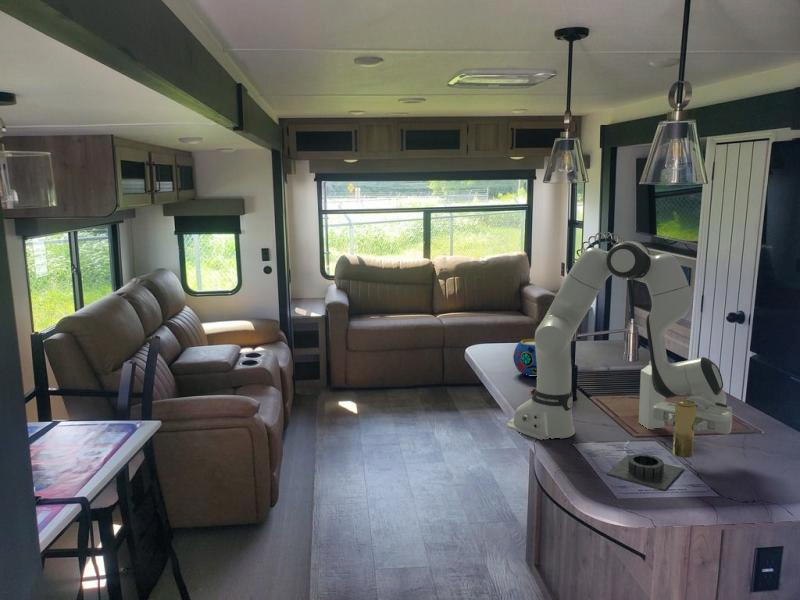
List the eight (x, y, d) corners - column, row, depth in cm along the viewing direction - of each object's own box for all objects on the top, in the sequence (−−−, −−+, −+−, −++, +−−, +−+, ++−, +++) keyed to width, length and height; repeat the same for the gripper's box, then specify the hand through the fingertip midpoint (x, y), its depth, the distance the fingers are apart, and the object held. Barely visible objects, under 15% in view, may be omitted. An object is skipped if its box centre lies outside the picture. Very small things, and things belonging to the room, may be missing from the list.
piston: (669, 454, 173) (673, 402, 171) (675, 448, 177) (679, 398, 174) (689, 459, 170) (692, 406, 167) (694, 453, 174) (698, 401, 171)
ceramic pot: (517, 382, 268) (517, 347, 266) (509, 370, 286) (510, 337, 283) (559, 381, 268) (559, 346, 266) (549, 369, 286) (549, 336, 283)
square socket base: (606, 474, 180) (606, 462, 180) (627, 456, 192) (628, 445, 192) (664, 490, 170) (665, 478, 169) (683, 470, 182) (684, 458, 182)
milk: (654, 422, 219) (657, 359, 216) (664, 428, 213) (668, 364, 210) (638, 423, 218) (641, 360, 215) (647, 430, 213) (650, 365, 209)
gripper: (661, 393, 188) (644, 406, 177) (738, 408, 175) (725, 422, 164) (660, 414, 189) (643, 427, 179) (736, 430, 176) (723, 445, 166)
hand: (683, 425), depth 171 cm, fingers closed on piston, 5 cm apart
